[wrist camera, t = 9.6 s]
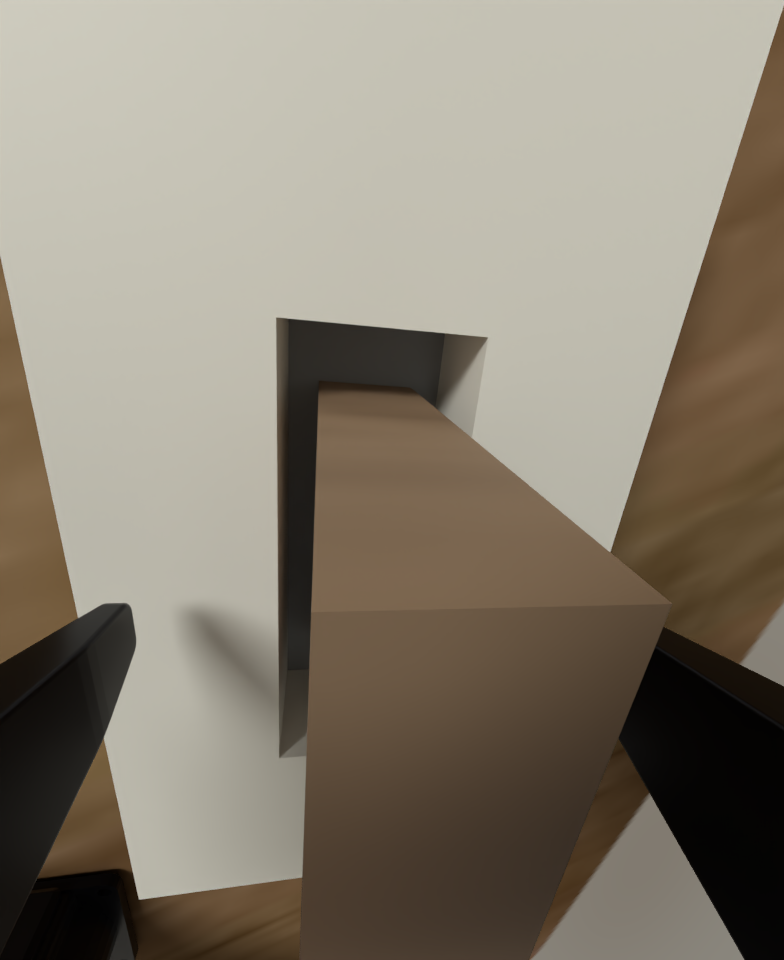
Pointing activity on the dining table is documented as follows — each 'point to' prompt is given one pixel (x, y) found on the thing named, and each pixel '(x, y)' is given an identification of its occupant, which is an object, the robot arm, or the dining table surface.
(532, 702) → the walnut plate
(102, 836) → the dining table surface
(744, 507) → the dining table surface
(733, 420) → the dining table surface
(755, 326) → the dining table surface
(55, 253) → the slotted board
